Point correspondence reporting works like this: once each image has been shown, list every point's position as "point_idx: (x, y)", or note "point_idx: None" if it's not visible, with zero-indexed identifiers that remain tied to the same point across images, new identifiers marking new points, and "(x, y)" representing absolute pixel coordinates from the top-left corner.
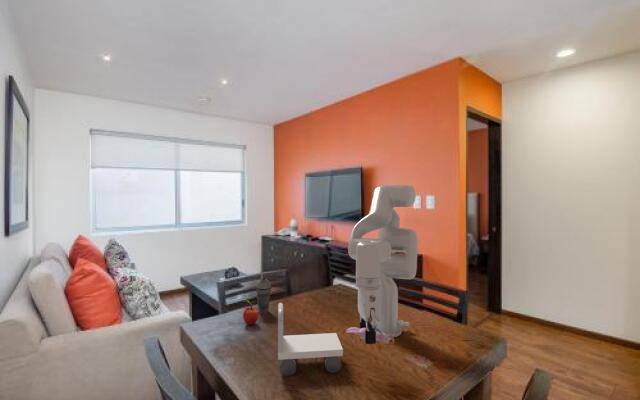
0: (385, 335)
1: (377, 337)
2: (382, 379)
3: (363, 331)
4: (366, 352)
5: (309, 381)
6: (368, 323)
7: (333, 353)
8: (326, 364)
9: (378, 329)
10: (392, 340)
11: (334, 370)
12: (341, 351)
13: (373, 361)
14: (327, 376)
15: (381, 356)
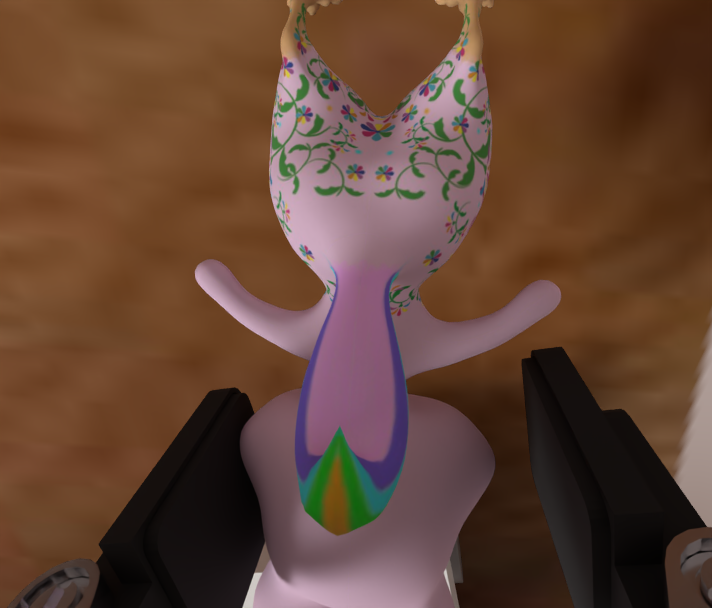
0: (438, 173)
1: (415, 312)
2: (537, 171)
3: (424, 588)
4: (140, 256)
5: (531, 578)
6: (168, 549)
7: (454, 592)
8: (460, 557)
9: (389, 367)
10: (475, 8)
11: None
12: None
13: (269, 214)
14: (484, 504)
15: (173, 135)
